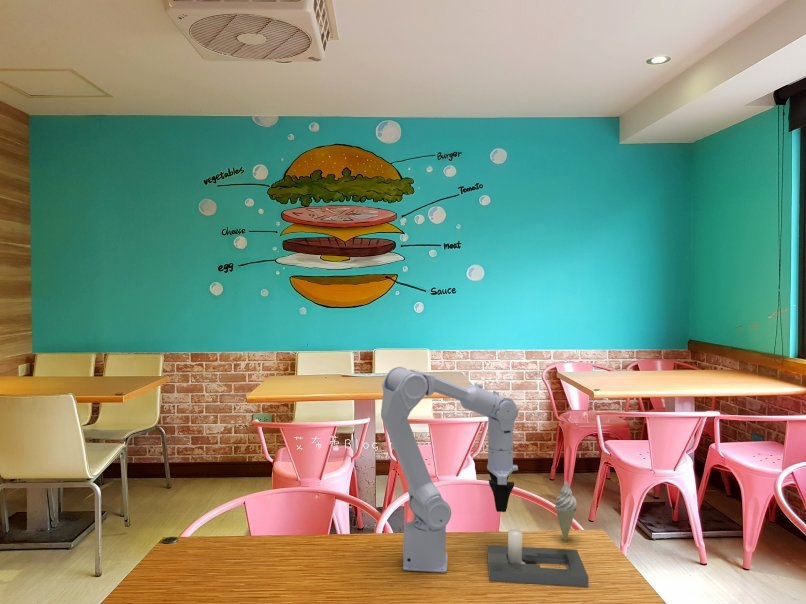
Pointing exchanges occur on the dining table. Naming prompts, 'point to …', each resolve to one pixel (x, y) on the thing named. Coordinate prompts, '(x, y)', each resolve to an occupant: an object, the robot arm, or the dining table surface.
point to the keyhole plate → (537, 566)
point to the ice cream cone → (565, 509)
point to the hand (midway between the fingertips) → (500, 504)
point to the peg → (515, 546)
